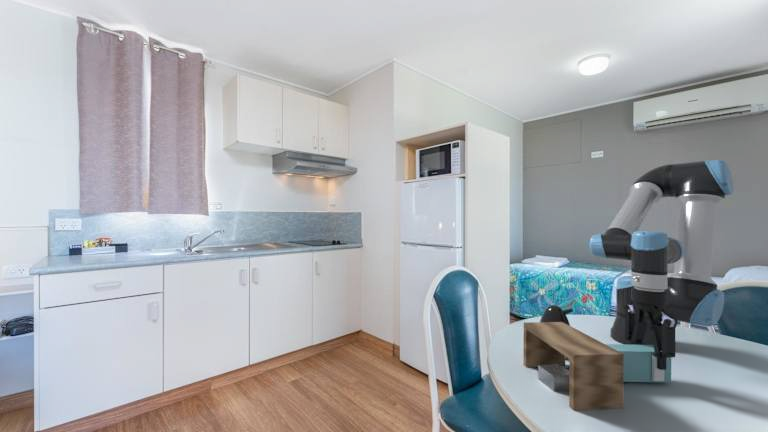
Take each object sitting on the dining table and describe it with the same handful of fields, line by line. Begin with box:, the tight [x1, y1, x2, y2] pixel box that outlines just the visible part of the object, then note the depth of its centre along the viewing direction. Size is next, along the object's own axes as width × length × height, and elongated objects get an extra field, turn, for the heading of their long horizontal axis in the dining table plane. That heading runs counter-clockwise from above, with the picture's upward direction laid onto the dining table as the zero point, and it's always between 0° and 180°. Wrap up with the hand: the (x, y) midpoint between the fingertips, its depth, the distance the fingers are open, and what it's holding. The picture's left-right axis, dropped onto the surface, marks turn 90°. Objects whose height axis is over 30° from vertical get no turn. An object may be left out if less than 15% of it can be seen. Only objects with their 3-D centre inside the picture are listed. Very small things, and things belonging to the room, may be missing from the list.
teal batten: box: [604, 343, 672, 383], centre depth 85 cm, size 23×4×8 cm, turn 89°
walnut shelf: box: [523, 321, 624, 411], centre depth 83 cm, size 12×22×12 cm, turn 4°
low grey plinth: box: [537, 364, 569, 392], centre depth 82 cm, size 6×6×4 cm
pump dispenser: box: [539, 304, 574, 326], centre depth 102 cm, size 10×10×15 cm
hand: (648, 374), depth 84 cm, fingers closed on teal batten, 5 cm apart
